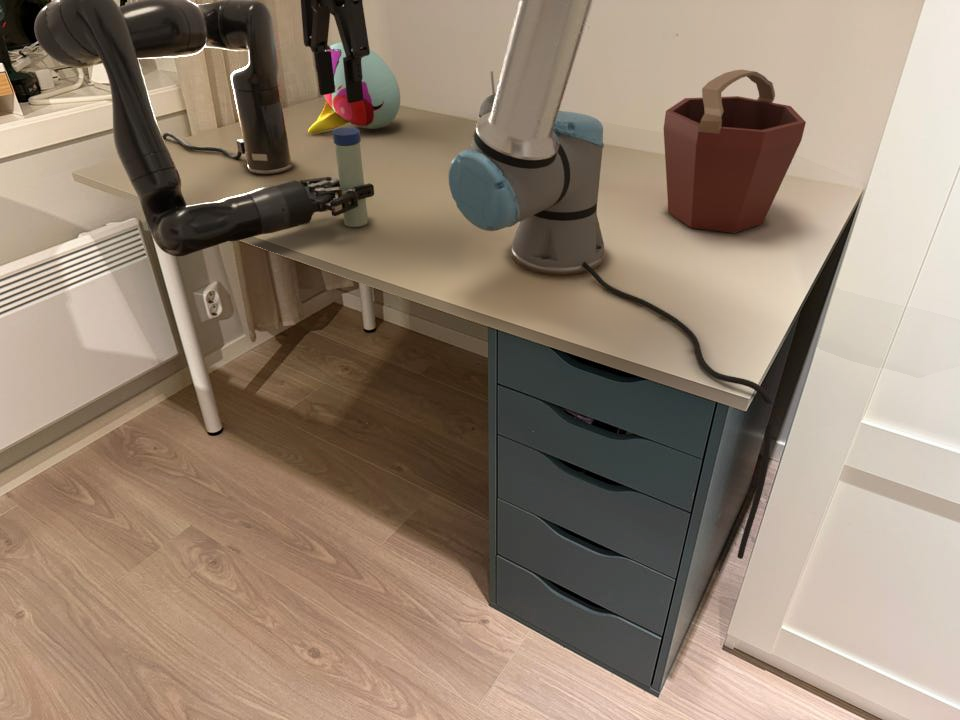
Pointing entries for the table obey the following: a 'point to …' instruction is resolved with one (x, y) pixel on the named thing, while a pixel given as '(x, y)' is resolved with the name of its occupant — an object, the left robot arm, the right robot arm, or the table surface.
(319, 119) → the toy
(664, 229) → the table surface
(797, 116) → the bucket
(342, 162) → the bottle
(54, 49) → the left robot arm
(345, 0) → the right robot arm
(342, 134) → the lid
